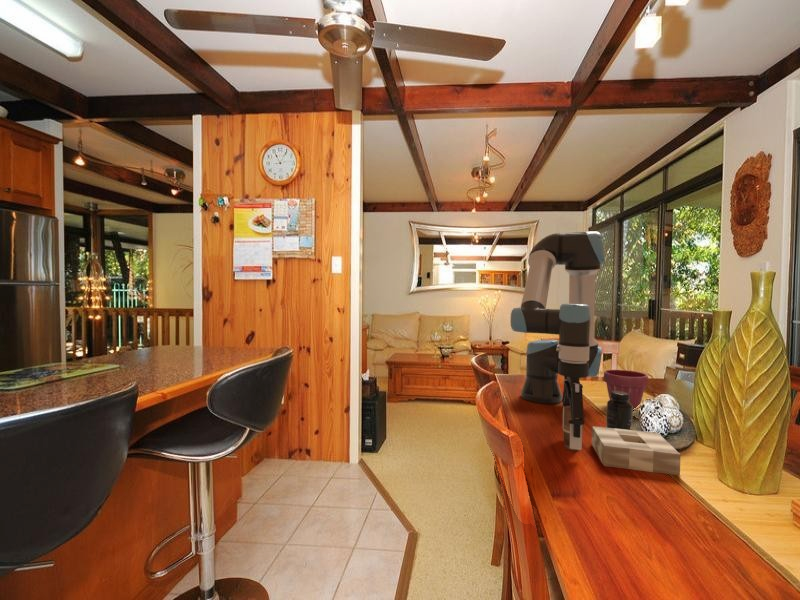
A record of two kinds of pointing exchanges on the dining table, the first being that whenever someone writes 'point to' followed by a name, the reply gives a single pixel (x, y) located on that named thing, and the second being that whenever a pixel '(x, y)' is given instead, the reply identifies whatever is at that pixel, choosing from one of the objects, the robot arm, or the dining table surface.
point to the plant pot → (627, 384)
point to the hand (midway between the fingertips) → (571, 439)
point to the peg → (567, 428)
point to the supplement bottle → (619, 411)
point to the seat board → (635, 450)
